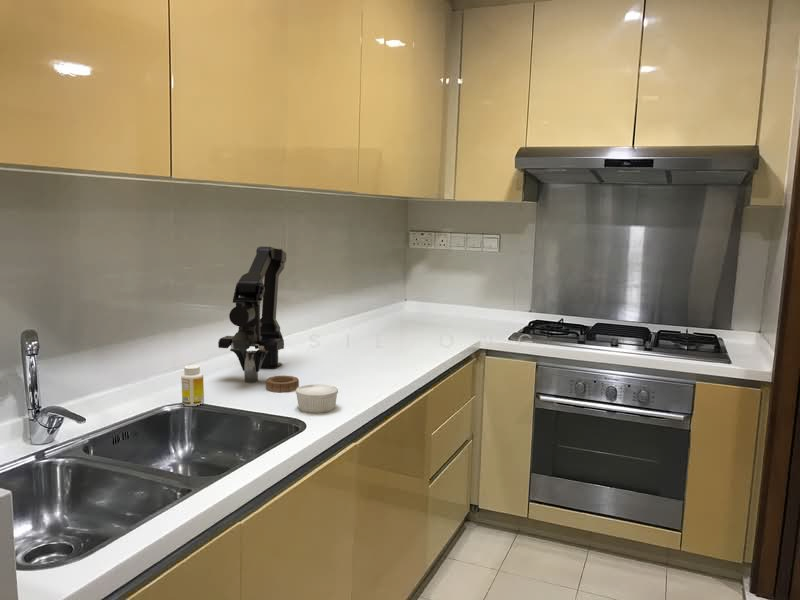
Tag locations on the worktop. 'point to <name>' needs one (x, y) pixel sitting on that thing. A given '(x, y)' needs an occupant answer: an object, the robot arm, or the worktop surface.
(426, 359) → the worktop surface
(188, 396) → the supplement bottle
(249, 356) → the grey metal peg
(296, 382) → the brown segmented ring
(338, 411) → the worktop surface
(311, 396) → the ramekin
